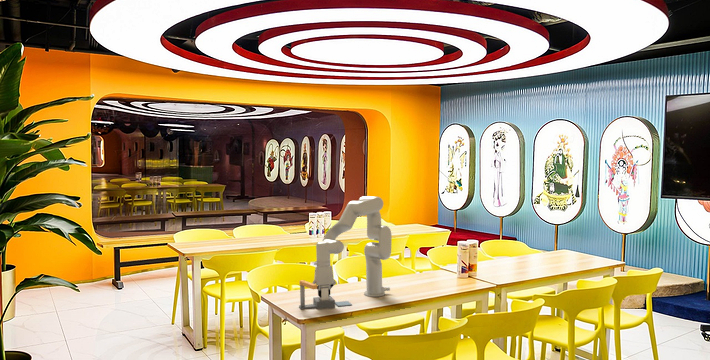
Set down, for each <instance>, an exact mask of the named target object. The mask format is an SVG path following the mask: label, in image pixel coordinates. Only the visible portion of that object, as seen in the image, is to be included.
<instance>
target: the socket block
mask: <svg viewBox="0 0 710 360" xmlns="http://www.w3.org/2000/svg"><path fill="white" fill-rule="evenodd" d="M305 289H306V287H305V286H302V285H300V284H299V290H300V291H299V292H300V293H299V296H300V298H299V300H300V302H299V305H298V308H299V310H310V309H311V310H312V309H316V310H322V309H323V310H325V309H333V308H334V309H335V308H336V304H335V302H336V300H335V299H334V297H332V296H331V295H330V297H329V300H320V297H319V296H317V297H313V299H312V304H310V303H309V304H305V303H306V293H305Z"/></svg>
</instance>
